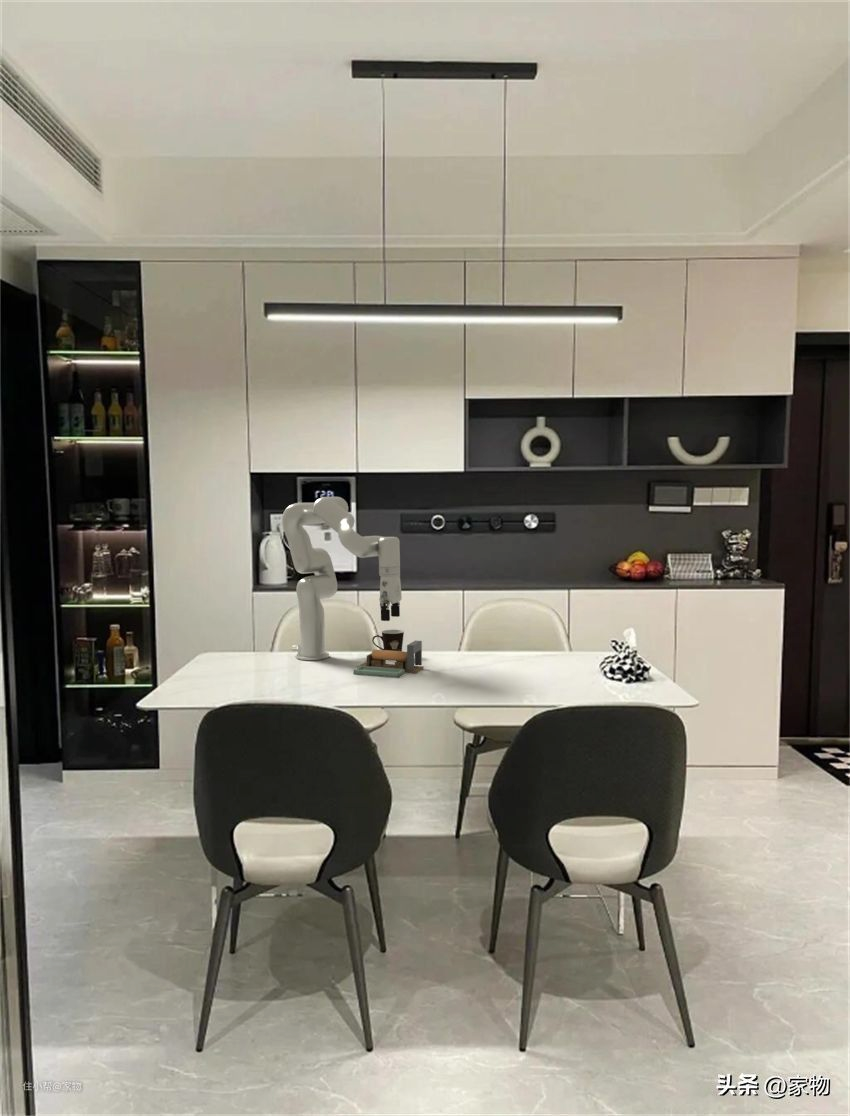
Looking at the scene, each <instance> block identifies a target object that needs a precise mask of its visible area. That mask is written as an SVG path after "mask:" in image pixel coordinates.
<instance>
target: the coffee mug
mask: <svg viewBox="0 0 850 1116" xmlns="http://www.w3.org/2000/svg"><path fill="white" fill-rule="evenodd" d="M404 634H405V631H404V630H402V629H384V630H382V631H381V635H377V634H376V635H374V636H373V637H372V640H371V641H372V644H373V645H374V646H376V648H379V650H390V651H403V643H404V636H405V635H404ZM376 637H377V638H380V639H381V641H382V644H383V647H381V646H379V645H377V644H376V643H375V639H376Z"/></svg>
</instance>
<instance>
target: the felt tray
mask: <svg viewBox="0 0 850 1116" xmlns="http://www.w3.org/2000/svg"><path fill="white" fill-rule="evenodd" d="M352 674H353V675H356V676H357V675H358V676H359V675H360V676H370V677H381V678H382V677H383V678H395V679H397V678H398V679H399V678H400V677H402V676H404V675H405V674H406V673H405V669H396V668H383V667H370V666H360V667H358V668H357V667H356V668H354V669H353V673H352Z"/></svg>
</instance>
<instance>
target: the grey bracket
mask: <svg viewBox="0 0 850 1116" xmlns="http://www.w3.org/2000/svg"><path fill="white" fill-rule="evenodd" d="M422 643H423V642H422V640H414V641H412V642H409V644H407V645H406V652H407V670H414V666H423V662H422V661H423V657H422V656H423V654H422V650H423V649H422V648H423V647H422V646H423V644H422Z"/></svg>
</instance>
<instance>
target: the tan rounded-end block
mask: <svg viewBox="0 0 850 1116" xmlns="http://www.w3.org/2000/svg"><path fill="white" fill-rule="evenodd" d="M371 653H372V659H377V660H386V661H393V662H396V661H405V659H406V658H407V651H403V650H402V651H390V650H382V649H372V652H371Z"/></svg>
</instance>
